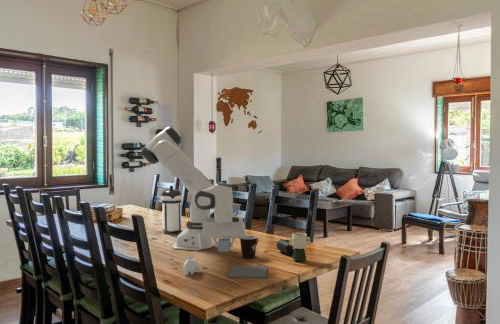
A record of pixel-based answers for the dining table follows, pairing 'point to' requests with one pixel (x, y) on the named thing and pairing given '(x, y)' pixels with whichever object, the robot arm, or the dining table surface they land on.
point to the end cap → (285, 247)
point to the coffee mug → (248, 246)
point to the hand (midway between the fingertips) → (224, 246)
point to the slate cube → (223, 245)
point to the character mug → (299, 245)
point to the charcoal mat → (247, 272)
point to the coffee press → (171, 210)
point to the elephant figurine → (190, 265)
